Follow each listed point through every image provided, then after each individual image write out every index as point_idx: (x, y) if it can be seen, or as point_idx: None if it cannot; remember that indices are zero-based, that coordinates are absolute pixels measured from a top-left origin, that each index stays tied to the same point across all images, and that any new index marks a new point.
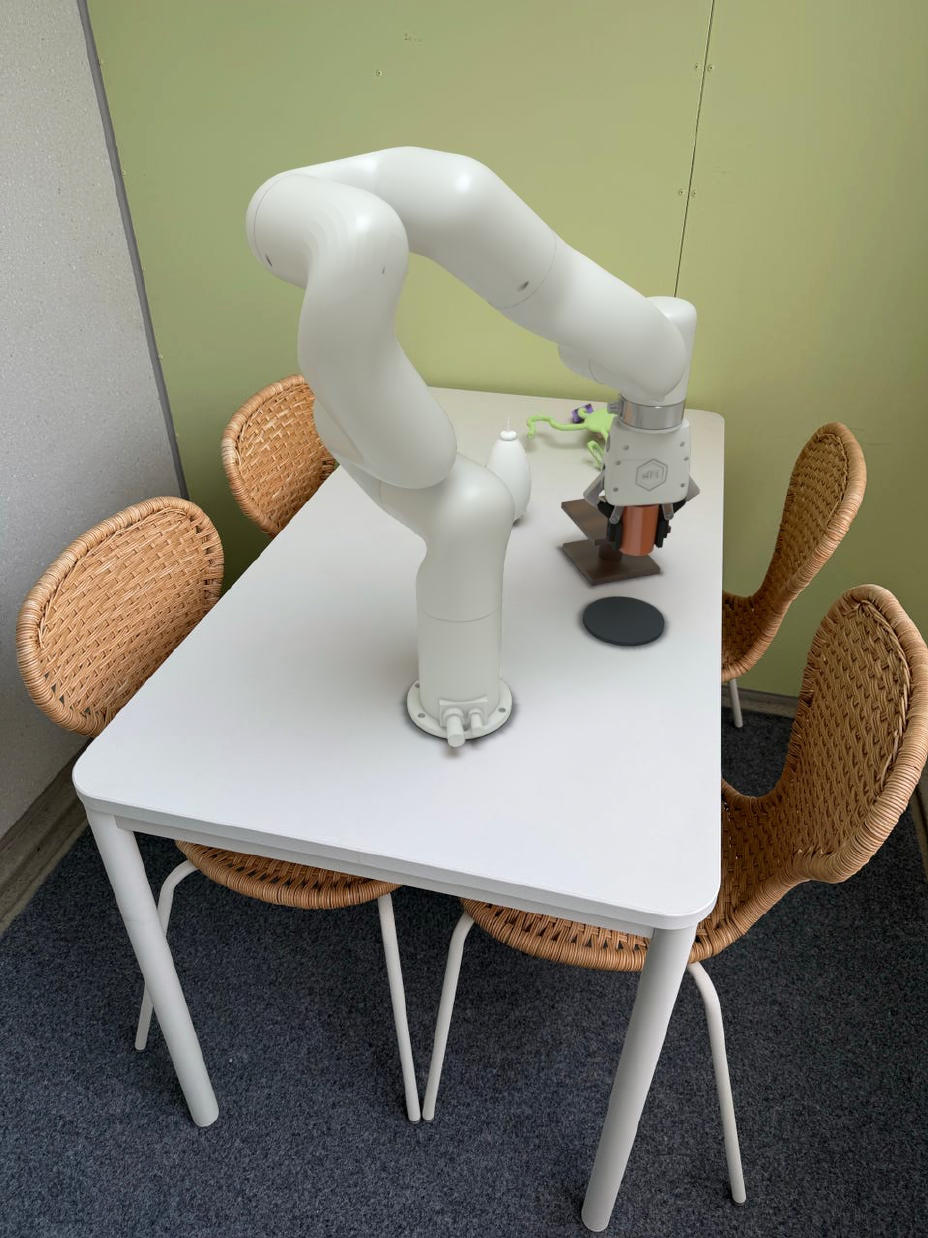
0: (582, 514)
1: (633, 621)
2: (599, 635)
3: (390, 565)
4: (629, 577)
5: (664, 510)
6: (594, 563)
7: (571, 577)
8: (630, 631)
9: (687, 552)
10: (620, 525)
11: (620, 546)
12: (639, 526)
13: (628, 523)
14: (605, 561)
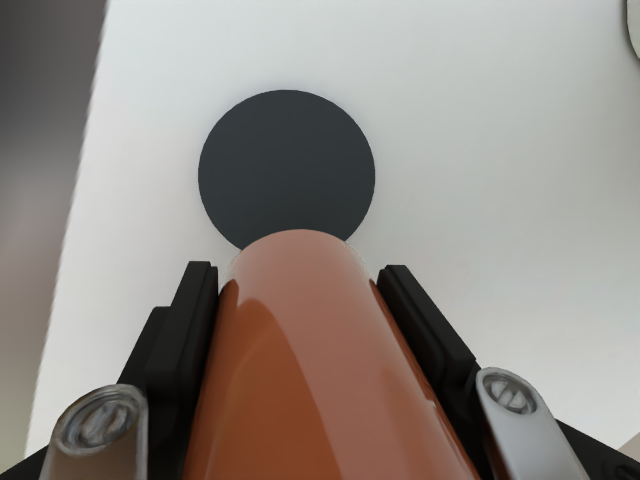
0: None
1: (272, 171)
2: (363, 134)
3: (576, 371)
4: None
5: (134, 471)
6: None
7: None
8: (291, 135)
9: (92, 381)
10: (457, 352)
11: (387, 275)
12: (359, 330)
13: (417, 362)
14: None
